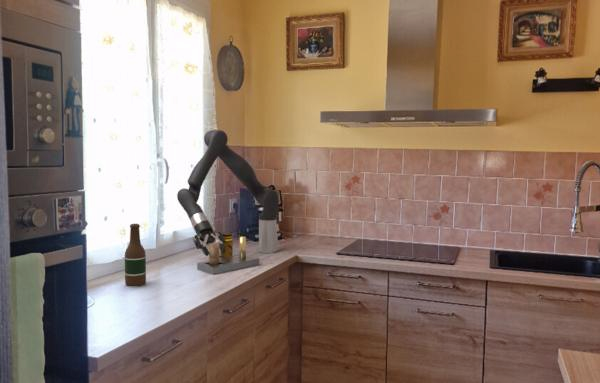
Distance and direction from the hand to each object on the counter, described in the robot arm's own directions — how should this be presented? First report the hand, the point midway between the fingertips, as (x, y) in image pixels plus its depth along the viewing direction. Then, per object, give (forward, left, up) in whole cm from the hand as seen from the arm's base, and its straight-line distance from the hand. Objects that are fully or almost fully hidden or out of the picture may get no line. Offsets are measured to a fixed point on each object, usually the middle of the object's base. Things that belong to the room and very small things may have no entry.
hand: (216, 253), depth 209 cm
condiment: (-19, -19, -8) cm, 28 cm away
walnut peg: (0, -1, -8) cm, 8 cm away
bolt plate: (-8, -1, -8) cm, 11 cm away
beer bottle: (+36, -3, -8) cm, 37 cm away
